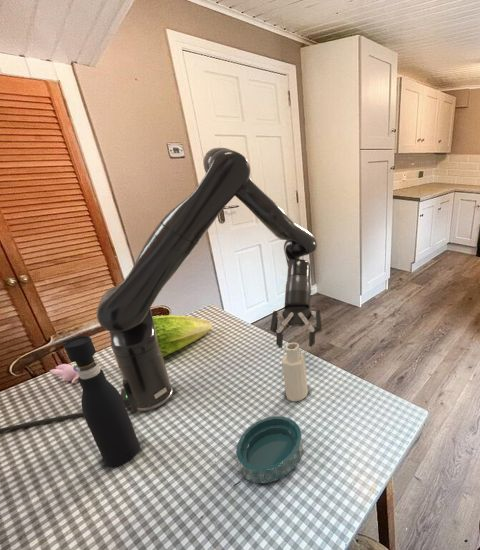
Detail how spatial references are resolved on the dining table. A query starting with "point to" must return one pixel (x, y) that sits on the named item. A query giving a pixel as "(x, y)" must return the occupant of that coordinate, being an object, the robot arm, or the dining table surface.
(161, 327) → the lettuce
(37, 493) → the dining table surface
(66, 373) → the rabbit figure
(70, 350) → the black insulated flask
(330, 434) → the dining table surface
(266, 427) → the dish
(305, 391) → the white bottle
